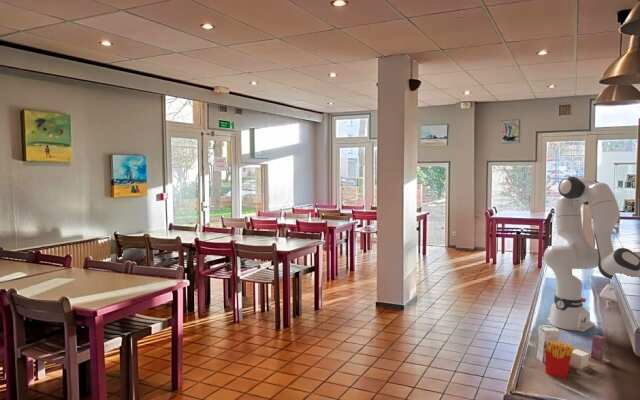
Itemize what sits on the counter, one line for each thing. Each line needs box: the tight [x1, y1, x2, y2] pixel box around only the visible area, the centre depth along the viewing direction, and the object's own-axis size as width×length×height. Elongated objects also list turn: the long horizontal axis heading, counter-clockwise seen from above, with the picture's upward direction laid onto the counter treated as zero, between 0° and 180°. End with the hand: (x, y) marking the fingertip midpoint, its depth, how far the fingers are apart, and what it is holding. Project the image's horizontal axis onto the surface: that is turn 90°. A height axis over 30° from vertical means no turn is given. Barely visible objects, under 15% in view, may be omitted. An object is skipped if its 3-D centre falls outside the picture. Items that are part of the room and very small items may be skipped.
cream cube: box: [570, 348, 590, 369], centre depth 196 cm, size 5×5×5 cm
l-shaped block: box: [568, 334, 611, 374], centre depth 198 cm, size 24×8×10 cm, turn 122°
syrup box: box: [535, 325, 560, 364], centre depth 199 cm, size 6×6×14 cm
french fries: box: [545, 341, 574, 379], centre depth 187 cm, size 9×4×13 cm, turn 59°
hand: (618, 313), depth 207 cm, fingers open, 8 cm apart
